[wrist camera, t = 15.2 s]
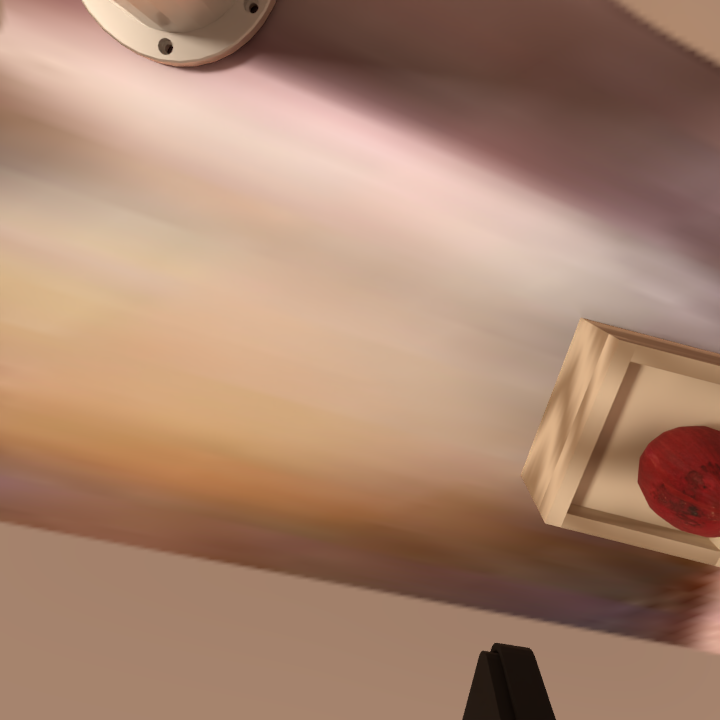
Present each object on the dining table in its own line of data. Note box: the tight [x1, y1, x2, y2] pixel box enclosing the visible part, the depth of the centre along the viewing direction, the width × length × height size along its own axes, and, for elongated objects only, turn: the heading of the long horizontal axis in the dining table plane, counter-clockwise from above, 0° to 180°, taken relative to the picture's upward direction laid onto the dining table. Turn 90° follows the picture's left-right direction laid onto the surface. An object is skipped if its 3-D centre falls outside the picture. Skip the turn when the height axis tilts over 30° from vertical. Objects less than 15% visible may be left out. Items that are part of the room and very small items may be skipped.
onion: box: [637, 426, 720, 538], centre depth 29 cm, size 6×6×8 cm
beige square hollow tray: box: [521, 318, 720, 567], centre depth 34 cm, size 12×12×6 cm
